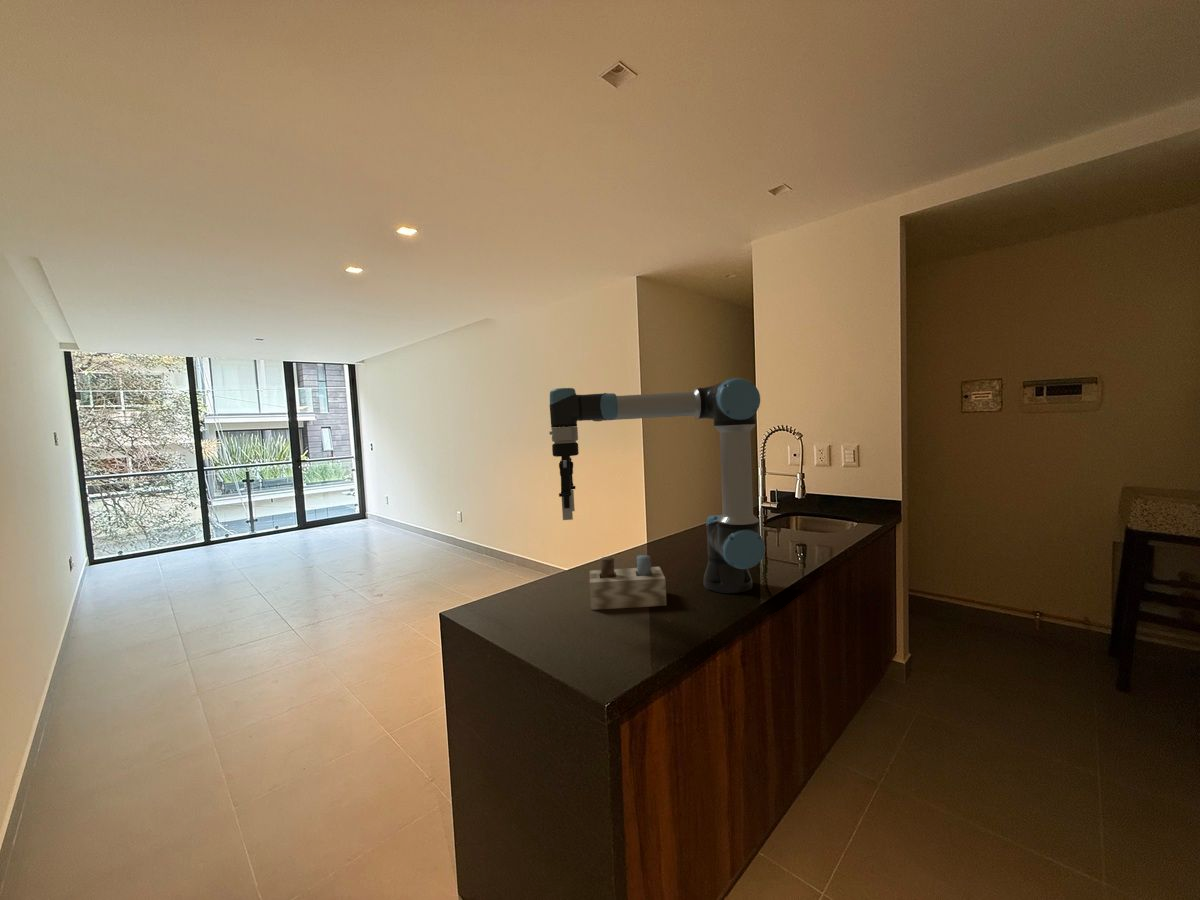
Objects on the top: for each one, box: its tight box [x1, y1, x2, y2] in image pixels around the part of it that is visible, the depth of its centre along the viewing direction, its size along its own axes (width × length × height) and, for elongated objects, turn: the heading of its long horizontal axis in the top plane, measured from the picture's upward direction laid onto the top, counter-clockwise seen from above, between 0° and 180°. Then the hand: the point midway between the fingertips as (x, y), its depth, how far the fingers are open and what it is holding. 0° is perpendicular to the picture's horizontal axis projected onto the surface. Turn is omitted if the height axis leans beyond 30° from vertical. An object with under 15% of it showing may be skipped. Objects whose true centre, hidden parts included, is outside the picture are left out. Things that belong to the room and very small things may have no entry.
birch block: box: [589, 566, 668, 611], centre depth 144 cm, size 22×12×8 cm, turn 91°
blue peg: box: [636, 554, 652, 576], centre depth 144 cm, size 4×4×8 cm
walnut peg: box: [600, 556, 615, 578], centre depth 144 cm, size 4×4×8 cm
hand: (569, 515), depth 138 cm, fingers open, 13 cm apart
